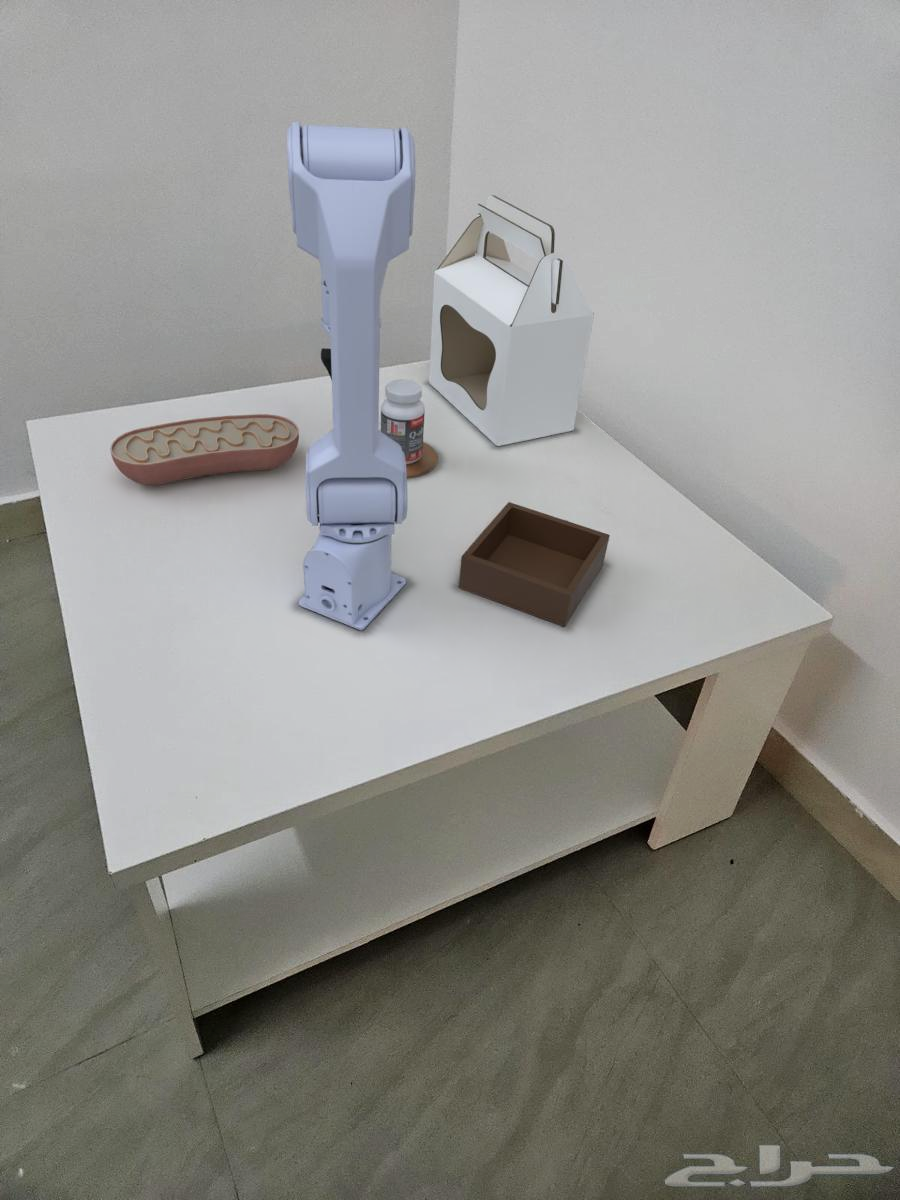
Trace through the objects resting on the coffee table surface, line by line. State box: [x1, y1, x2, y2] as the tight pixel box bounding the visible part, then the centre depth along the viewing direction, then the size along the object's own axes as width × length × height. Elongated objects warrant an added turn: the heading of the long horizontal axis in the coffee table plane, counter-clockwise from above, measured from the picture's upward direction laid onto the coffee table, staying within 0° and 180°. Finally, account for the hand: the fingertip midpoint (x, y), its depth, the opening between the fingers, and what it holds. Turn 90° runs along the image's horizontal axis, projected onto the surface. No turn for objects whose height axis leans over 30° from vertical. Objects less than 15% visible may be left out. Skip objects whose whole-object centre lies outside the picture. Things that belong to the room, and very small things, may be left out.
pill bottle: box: [380, 378, 425, 464], centre depth 107 cm, size 6×6×10 cm
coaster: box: [406, 441, 438, 479], centre depth 111 cm, size 10×10×1 cm
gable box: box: [428, 194, 595, 447], centre depth 116 cm, size 22×13×28 cm, turn 27°
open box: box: [458, 501, 611, 628], centre depth 91 cm, size 13×13×4 cm
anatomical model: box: [109, 413, 300, 486], centre depth 104 cm, size 23×10×5 cm, turn 112°
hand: (348, 391), depth 102 cm, fingers open, 7 cm apart
